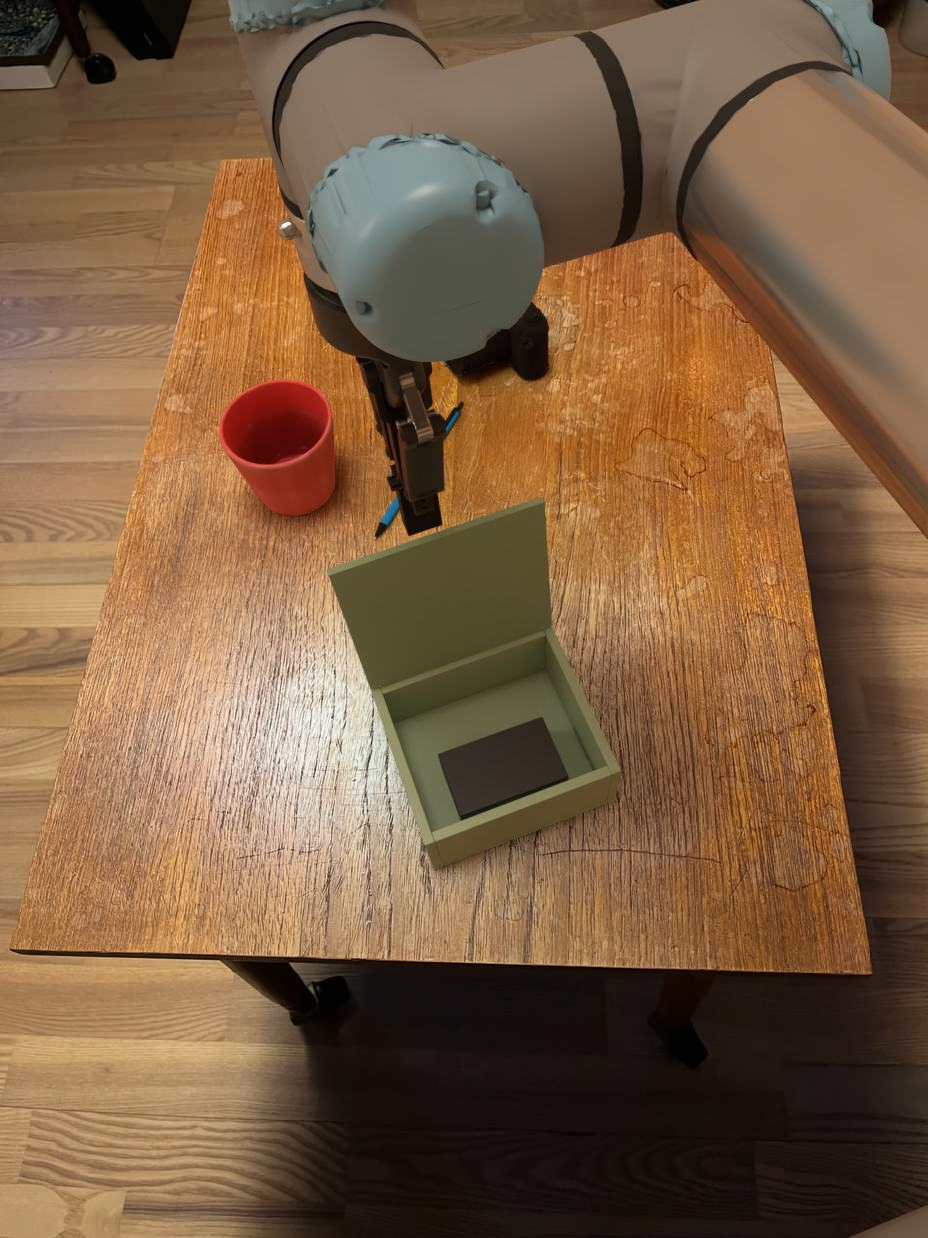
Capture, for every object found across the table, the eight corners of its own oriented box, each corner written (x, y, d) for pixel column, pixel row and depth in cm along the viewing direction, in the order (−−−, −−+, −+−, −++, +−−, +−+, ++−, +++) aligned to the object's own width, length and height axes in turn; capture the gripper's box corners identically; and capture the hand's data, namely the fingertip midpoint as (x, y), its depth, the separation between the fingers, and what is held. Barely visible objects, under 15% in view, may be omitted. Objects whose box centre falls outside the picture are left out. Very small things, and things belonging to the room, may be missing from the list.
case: (615, 800, 73) (621, 771, 67) (434, 870, 72) (424, 845, 66) (550, 662, 80) (550, 624, 74) (383, 722, 78) (370, 688, 72)
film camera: (414, 329, 102) (404, 262, 95) (487, 295, 104) (483, 227, 97) (484, 412, 95) (479, 347, 88) (561, 374, 97) (562, 307, 89)
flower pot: (368, 459, 93) (351, 392, 85) (321, 542, 88) (298, 479, 80) (278, 434, 96) (253, 366, 87) (227, 513, 91) (196, 449, 83)
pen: (466, 406, 96) (465, 399, 95) (379, 542, 88) (377, 535, 87) (458, 404, 96) (458, 396, 95) (371, 539, 88) (369, 532, 87)
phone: (567, 789, 73) (568, 776, 71) (463, 828, 72) (460, 816, 70) (542, 730, 76) (542, 716, 73) (441, 767, 75) (437, 753, 72)
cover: (545, 501, 62) (541, 496, 62) (328, 575, 60) (326, 569, 61) (552, 625, 74) (549, 619, 74) (370, 689, 72) (368, 683, 72)
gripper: (273, 204, 50) (350, 476, 70) (337, 359, 44) (401, 608, 64) (401, 167, 51) (441, 446, 71) (482, 314, 45) (500, 574, 65)
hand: (422, 523), depth 68 cm, fingers closed
